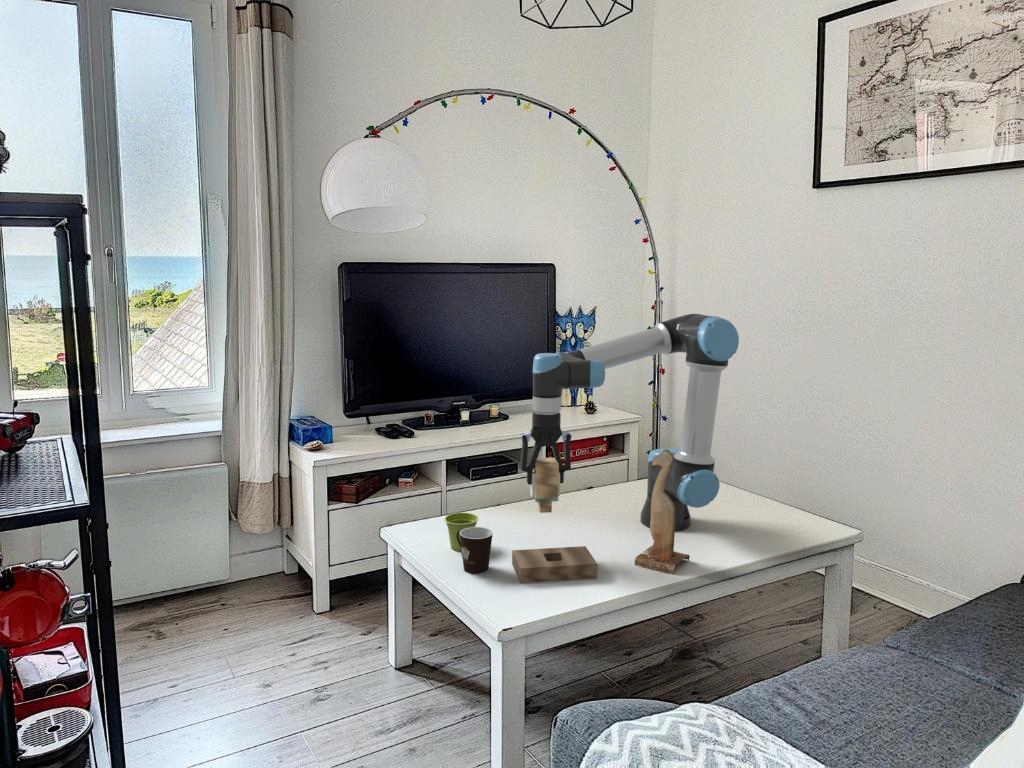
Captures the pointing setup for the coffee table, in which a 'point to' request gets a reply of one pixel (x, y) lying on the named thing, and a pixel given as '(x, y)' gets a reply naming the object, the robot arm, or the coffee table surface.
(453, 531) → the plant pot
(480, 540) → the coffee mug
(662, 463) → the bird sculpture
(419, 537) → the coffee table surface
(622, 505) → the coffee table surface
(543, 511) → the oak peg
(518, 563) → the walnut board
